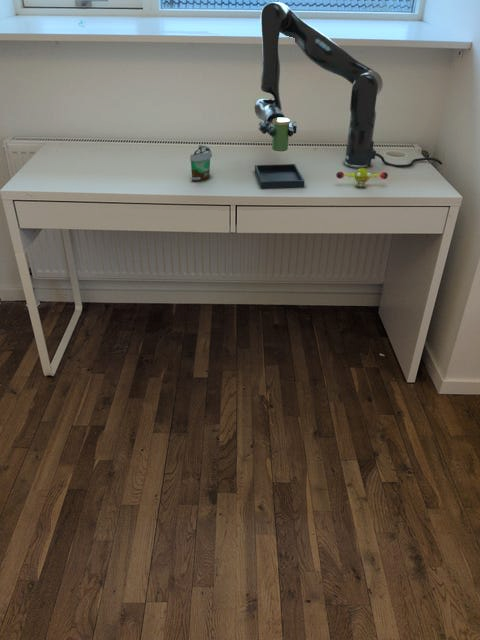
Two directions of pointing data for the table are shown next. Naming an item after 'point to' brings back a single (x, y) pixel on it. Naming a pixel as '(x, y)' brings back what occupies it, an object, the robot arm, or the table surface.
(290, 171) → the dark grey shallow tray
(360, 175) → the toy figure
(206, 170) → the food container
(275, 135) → the green cup
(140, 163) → the table surface
